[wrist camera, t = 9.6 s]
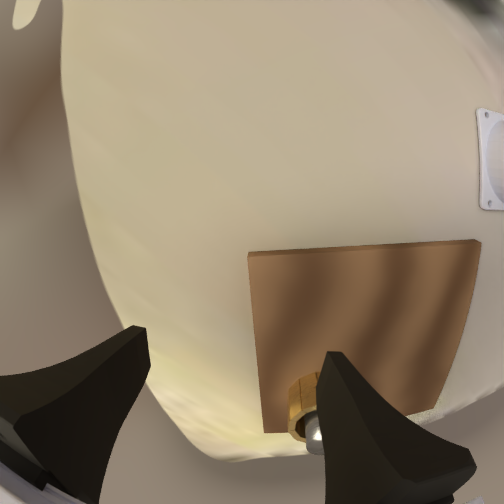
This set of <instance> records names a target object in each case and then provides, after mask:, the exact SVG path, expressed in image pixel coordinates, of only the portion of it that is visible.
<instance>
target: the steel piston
mask: <svg viewBox="0 0 504 504" xmlns="http://www.w3.org/2000/svg"><path fill="white" fill-rule="evenodd" d="M304 422H305V434H306V447H307V450H308V452H310V453H312V454H315V455H324V449H323V443H322V438H321V432H320V426H319V420H318V415H317V410H314V411H311V412H308V413H306V414H305V415H304Z"/></svg>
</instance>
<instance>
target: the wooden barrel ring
mask: <svg viewBox="0 0 504 504" xmlns="http://www.w3.org/2000/svg"><path fill="white" fill-rule="evenodd" d="M319 376H320V372H314V373H311V374H309V375H306V376H304V377H301V378H300V379H298V380H297V381H296V382H295V383H294V384H293V385H292V386H291V387H290V388H289V389H288V397H287V415H288V432H289V433H290V434H291V435H292V436H293V438H294V439H296V440H298V441H302V442H305V443H306V434H305V422H304V415H305V414H306V413H308V412H311V411H314V410H317V408H316V385H317V382H318V379H319Z"/></svg>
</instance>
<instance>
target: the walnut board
mask: <svg viewBox="0 0 504 504" xmlns="http://www.w3.org/2000/svg"><path fill="white" fill-rule="evenodd" d="M480 251H481V242H479V241H477V240H475V239H471V240H453V241H436V242H418V243H400V244H382V245H365V246H347V247H329V248H311V249H294V250H276V251H258V252H249V253H248V256H247V258H248V269H249V280H250V291H251V302H252V313H253V323H254V334H255V345H256V355H257V366H258V376H259V387H260V397H261V407H262V417H263V427H264V433H287V432H288V415H287V397H288V389H289V388H290V387H291V386H292V385H293V384H294V383H295V382H296V381H297V380H298V379H300V378H301V377H304V376H306V375H309V374H311V373H314V372H321V369H322V366H323V363H324V359H325V356H326V353H327V351H339V352H342V353H343V354H344V355H345V356H346V357H347V358H348V360H349V361H350V362H351V363H352V364H353V366H354V367H355V368H356V369H357V370H358V371H359V373H360V374H361V375H362V376H363V377H364V378H365V380H366V381H367V382H368V383H369V384H370V385H371V386H372V387H373V388H374V389H375V390H376V391H377V392H378V393H379V394H380V395H381V396H382V397H383V398H384V399H385V400H386V401H387V402H388V403H389V404H390V405H392V406H393V407H394V408H395V409H396V410H398V411H399V412H400V413H401V414H403V415H404V416H407V415H411V414H415V413H418V412H422V411H426V410H429V409H433V408H434V406H435V404H436V402H437V400H438V397H439V395H440V393H441V390H442V388H443V386H444V383H445V381H446V378H447V376H448V373H449V371H450V368H451V365H452V363H453V360H454V357H455V354H456V351H457V348H458V345H459V342H460V339H461V336H462V333H463V329H464V326H465V322H466V319H467V315H468V311H469V307H470V303H471V299H472V295H473V290H474V285H475V280H476V275H477V270H478V264H479V258H480Z"/></svg>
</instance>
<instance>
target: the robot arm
mask: <svg viewBox="0 0 504 504" xmlns="http://www.w3.org/2000/svg"><path fill="white" fill-rule="evenodd" d="M485 114H486V116H485ZM476 116H477V126H478V137H479V153H480V200H479V204H480V207H481V208H482V209H484V210H504V114H501V113H498V112H494V111H491V110H488V109H484V108H478V109H477V110H476ZM488 201H489V205H488ZM150 367H151V363H150V356H149V349H148V341H147V332H146V328H144V327H139V326H134V325H132V326H130V327H128V328H127V329H125V330H123V331H121V332H120V333H118V334H116V335H114V336H113V337H111V338H109V339H108V340H106V341H104V342H102V343H101V344H99V345H97V346H96V347H93V348H91V349H90V350H87V351H85V352H83V353H81V354H80V355H78V356H76V357H74V358H71V359H69V360H66V361H64V362H61V363H58V364H56V365H53V366H50V367H46V368H43V369H39V370H35V371H32V372H27V373H22V374H15V375H7V376H0V504H99V498H100V493H101V488H102V483H103V479H104V476H105V472H106V468H107V464H108V461H109V458H110V455H111V452H112V449H113V446H114V443H115V441H116V438H117V435H118V433H119V430H120V428H121V426H122V424H123V422H124V420H125V418H126V417H127V415H128V413H129V411H130V409H131V407H132V406H133V404H134V402H135V400H136V398H137V397H138V394H139V393H140V391H141V389H142V387H143V385H144V383H145V380H146V378H147V375H148V372H149V370H150ZM316 408H317V415H318V420H319V426H320V432H321V438H322V443H323V449H324V456H325V474H326V496H325V497H326V498H325V504H452V503H453V502H454V497H453V493H454V492H455V491H456V490H458V489H459V488H460V487H461V486H462V485H464V484H465V483H466V482H467V481H468V480H469V479H470V478H471V477H472V476H473V475H474V473H475V471H476V468H477V466H476V464H475V462H474V459H473V457H472V455H471V453H470V451H469V449H467V448H464V447H462V446H459V445H456V444H454V443H451V442H449V441H446V440H444V439H442V438H440V437H438V436H436V435H434V434H432V433H430V432H428V431H426V430H425V429H423V428H422V427H420V426H419V425H417V424H415V423H414V422H412V421H411V420H409V419H408V418H407V417H405V416H404V415H403V414H401V413H400V412H399V411H398V410H396V409H395V408H394V407H393V406H392V405H390V404H389V403H388V402H387V401H386V400H385V399H384V398H383V397H382V396H381V395H380V394H379V393H378V392H377V391H376V390H375V389H374V388H373V387H372V386H371V385H370V384H369V383H368V382H367V381H366V380H365V378H364V377H363V376H362V375H361V374H360V373H359V371H358V370H357V369H356V368H355V367H354V366H353V364H352V363H351V362H350V361H349V360H348V358H347V357H346V356H345V355H344V354H343V353H342V352H339V351H327V353H326V356H325V359H324V363H323V366H322V369H321V372H320V376H319V379H318V382H317V385H316ZM464 504H485V503H484V501H483V498H482V496H479V497H477V498H475V499H473V500H470V501H468V502H466V503H464Z"/></svg>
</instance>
